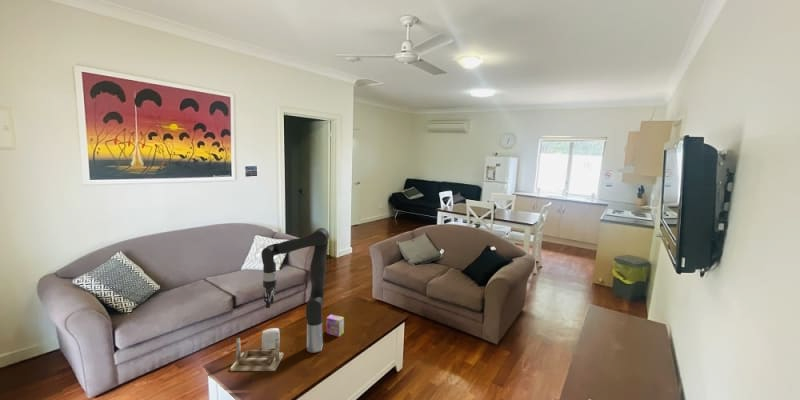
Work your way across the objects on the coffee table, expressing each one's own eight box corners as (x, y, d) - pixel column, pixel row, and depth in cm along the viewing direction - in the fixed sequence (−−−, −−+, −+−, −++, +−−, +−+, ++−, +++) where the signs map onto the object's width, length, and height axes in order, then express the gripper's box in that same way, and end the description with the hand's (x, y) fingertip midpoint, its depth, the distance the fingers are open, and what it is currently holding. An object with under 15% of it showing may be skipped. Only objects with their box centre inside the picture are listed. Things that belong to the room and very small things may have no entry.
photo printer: (279, 344, 204) (279, 325, 203) (280, 348, 201) (279, 329, 199) (261, 347, 200) (261, 328, 199) (261, 351, 196) (261, 332, 195)
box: (326, 334, 219) (326, 317, 217) (330, 330, 224) (331, 314, 223) (339, 337, 215) (339, 320, 214) (343, 333, 220) (344, 317, 219)
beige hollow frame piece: (283, 354, 194) (283, 332, 192) (275, 370, 179) (275, 346, 177) (242, 354, 192) (241, 332, 191) (230, 370, 177) (229, 346, 176)
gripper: (272, 283, 188) (272, 310, 190) (279, 274, 202) (279, 300, 204) (258, 282, 188) (259, 310, 190) (267, 274, 202) (267, 300, 204)
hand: (269, 305), depth 197 cm, fingers open, 5 cm apart
